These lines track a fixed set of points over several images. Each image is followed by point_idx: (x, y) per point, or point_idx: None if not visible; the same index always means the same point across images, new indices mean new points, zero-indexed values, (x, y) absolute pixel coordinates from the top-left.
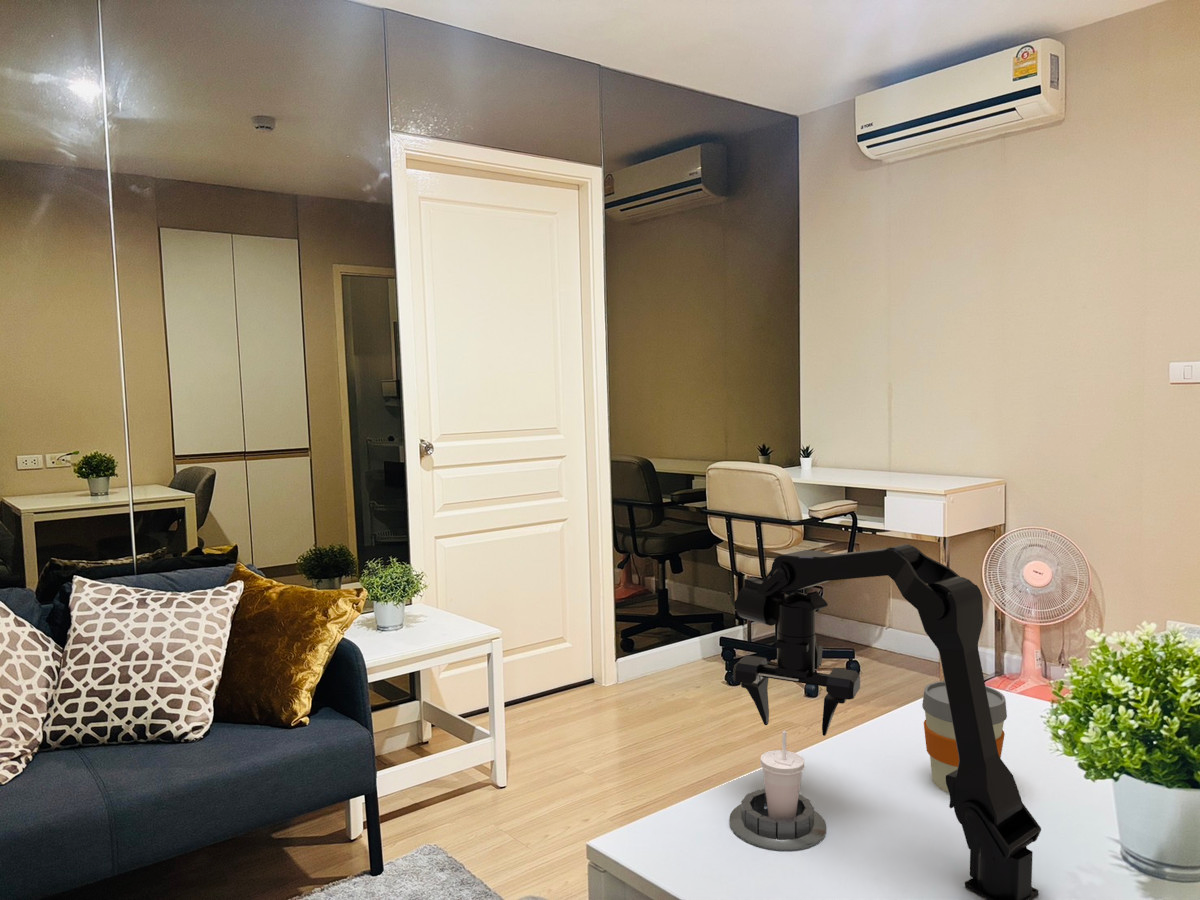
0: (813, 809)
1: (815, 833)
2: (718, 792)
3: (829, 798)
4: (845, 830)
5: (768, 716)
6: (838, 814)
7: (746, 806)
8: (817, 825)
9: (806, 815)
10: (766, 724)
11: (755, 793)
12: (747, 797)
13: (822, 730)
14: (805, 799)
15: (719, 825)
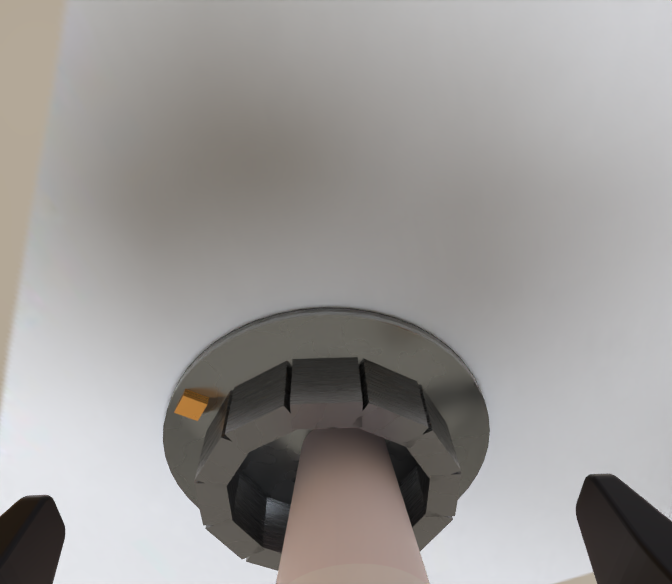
0: (459, 477)
1: (459, 461)
2: (28, 337)
3: (470, 182)
4: (547, 380)
5: (19, 566)
6: (518, 295)
7: (234, 541)
8: (458, 422)
9: (442, 513)
10: (61, 542)
11: (221, 468)
12: (208, 499)
13: (596, 573)
14: (417, 433)
15: (168, 500)
